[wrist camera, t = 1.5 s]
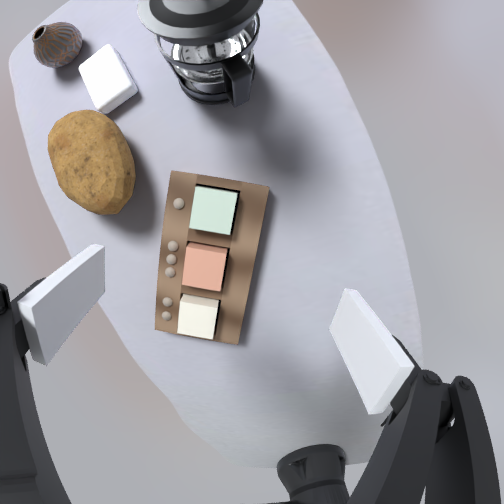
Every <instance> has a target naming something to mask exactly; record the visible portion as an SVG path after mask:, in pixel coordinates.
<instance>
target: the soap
mask: <svg viewBox="0 0 504 504" xmlns="http://www.w3.org/2000/svg"><path fill="white" fill-rule="evenodd" d="M79 71H80V74H81V76H82V78H83V81H84V83H85V85H86V87H87V90H88V92H89V94H90V96H91V98H92V100H93V102H94V105H95V107H96V109H97V110H98V111H100V112H102V113H105V114H108V113H109V112H111V111H112V110H113V109H115V108H116V107H118V106H119V105H120V104H122V103H123V102H124V101H126V100H127V99H129V98H130V97H132V96H133V95H134V94H136V93H137V87H136V85H135V83H134V81H133V79H132V78H131V76H130V74H129V72H128V70H127V68H126V67H125V65H124V63H123V61H122V59H121V57H120V56H119V54H118V52H117V50H116V49H115V48H114V47H113V46H112V45H110V44H108V45H106V46H104V47H103V48H101V49H100V50H99V51H98V52H97V53H95V54H94V55H93V56H91V57H90V58H89V59H87V60H86V61H85V62H84V63H82V64H81V65H80V66H79Z"/></svg>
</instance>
